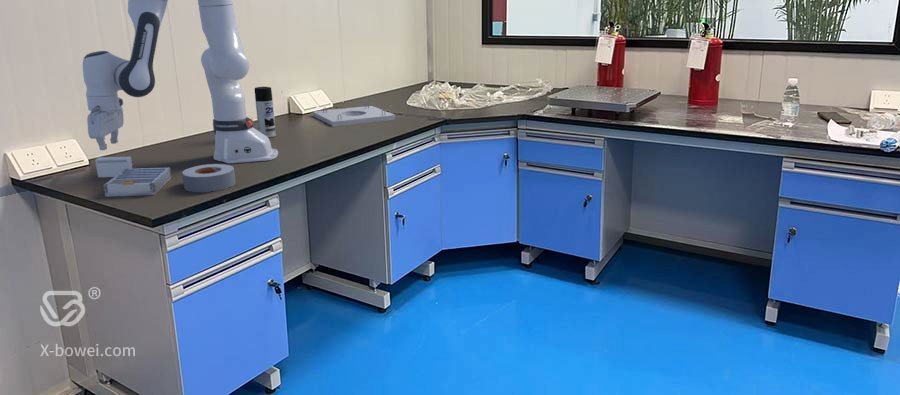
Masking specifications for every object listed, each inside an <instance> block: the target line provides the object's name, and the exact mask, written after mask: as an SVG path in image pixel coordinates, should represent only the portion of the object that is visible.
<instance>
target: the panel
mask: <svg viewBox="0 0 900 395" xmlns="http://www.w3.org/2000/svg"><path fill="white" fill-rule="evenodd" d="M95 167H96V168H95V169H96V172H97V173H96V174H97V177H98V178H114V177H115V176H116V175H118V174H119V173H120V172H121V171H123V170H124V169H134V168H133V162H132V157H131V156H108V157H107V156H106V157H105V156H104V157H103V156H102V157H100V156H99V157H97V158H96V159H95Z"/></svg>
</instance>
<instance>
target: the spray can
mask: <svg viewBox="0 0 900 395" xmlns="http://www.w3.org/2000/svg"><path fill="white" fill-rule="evenodd" d="M254 99H255V108H256V119H257V127H258V128H257V130H258V131H259V132H261V133H262V134H264V135H266V136H267V137H268V138H269V139H271V138H275V137H276V136H277V134H276V122H275V121H276V120H275V111H274V100H273V92H272V87H270V86H256V87H255V88H254Z"/></svg>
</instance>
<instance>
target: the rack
mask: <svg viewBox="0 0 900 395" xmlns="http://www.w3.org/2000/svg"><path fill="white" fill-rule="evenodd" d="M172 179H173V177H172V169H171V167H149V168H148V167H147V168H145V167H144V168H143V167H141V168H133V169H124V170H123V171H121V172H120V173H119V174H118V175H116V176H115V177H111V179H110V180H109V181H107V182H106V183H104V184H103V186H102V187H103V191H104V197H106V198H107V197H108V198H109V197H131V196H132V197H135V196H136V197H138V196H140V197H141V196H142V197H143V196H155V195H157V193H158V192H160V190H161V189H162V188H164V186H166V185H167V183H168V182H169V181H170V180H172Z"/></svg>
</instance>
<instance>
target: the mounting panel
mask: <svg viewBox="0 0 900 395" xmlns="http://www.w3.org/2000/svg"><path fill="white" fill-rule="evenodd" d="M364 105H365V106H357V107H346V108H344V107H343V108H335V109H327V108H325V107H323V108H322V110H317V111H315V110H313V111H312V116H313V117H314V118H316V119H317V120H320V121H322V122H324V123H325V124H327V125H329V126H332V127H341V126H349V125H351V126H352V125H359V124H369V123H376V122H378V123H379V122H387V121H395V120H396V114H394V113H391V112H388V111H386V110H385V109H380V108H379V107H375V106H373V105H370V104H369V103H366V104H364Z"/></svg>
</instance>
